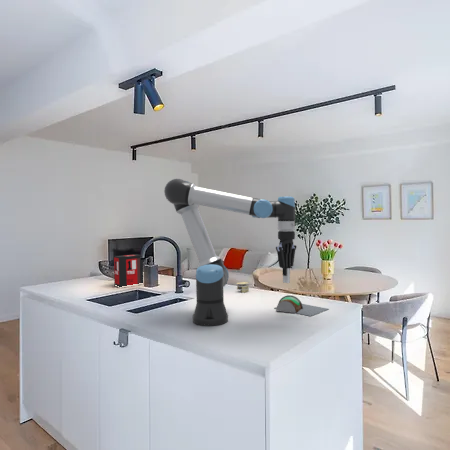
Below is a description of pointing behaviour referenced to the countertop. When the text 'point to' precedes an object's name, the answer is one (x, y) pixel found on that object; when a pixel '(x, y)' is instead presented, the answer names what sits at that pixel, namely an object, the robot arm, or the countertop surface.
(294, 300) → the food container
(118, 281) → the cleaning product box
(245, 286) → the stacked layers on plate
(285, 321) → the countertop surface
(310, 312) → the rubber mat
